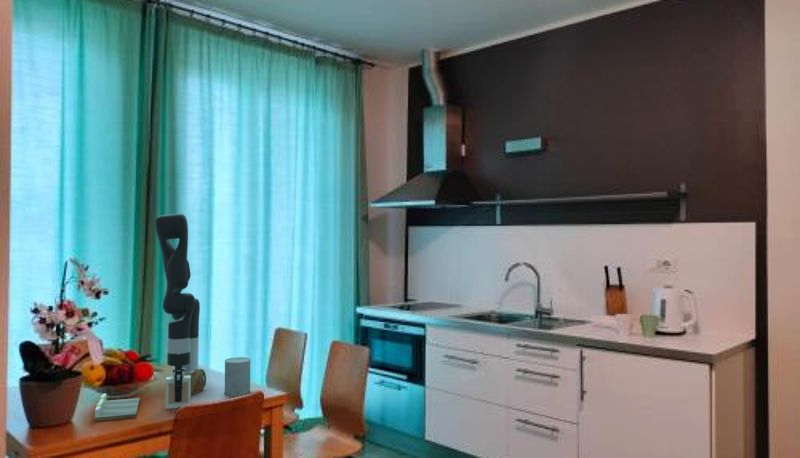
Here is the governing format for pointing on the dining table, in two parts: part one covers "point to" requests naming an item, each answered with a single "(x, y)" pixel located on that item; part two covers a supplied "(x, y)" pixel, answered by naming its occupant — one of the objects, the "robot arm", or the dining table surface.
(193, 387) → the tin
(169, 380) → the carton
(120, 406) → the shelf board
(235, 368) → the grey stone cylinder
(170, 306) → the robot arm
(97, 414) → the rail
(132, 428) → the dining table surface
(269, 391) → the dining table surface
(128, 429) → the dining table surface
